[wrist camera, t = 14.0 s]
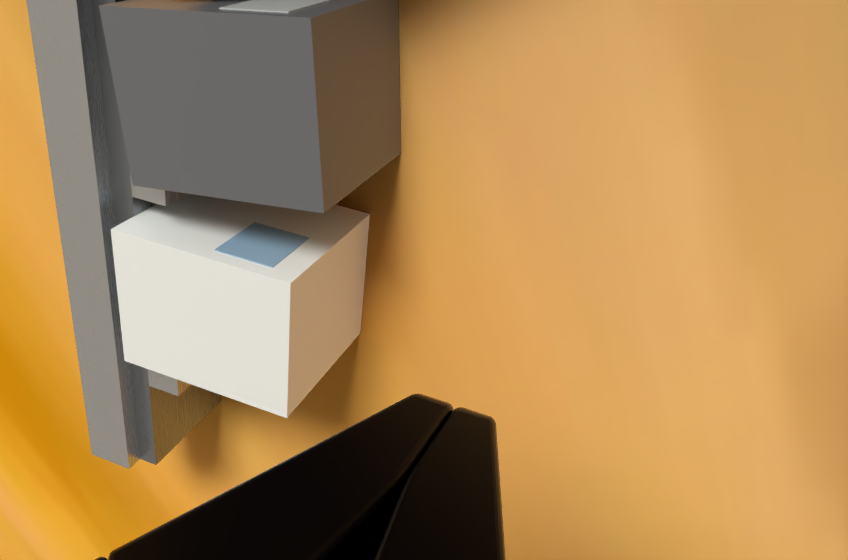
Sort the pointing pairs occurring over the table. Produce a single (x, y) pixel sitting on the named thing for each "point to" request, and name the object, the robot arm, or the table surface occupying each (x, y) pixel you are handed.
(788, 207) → the table surface
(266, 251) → the block
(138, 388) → the rail
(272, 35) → the block
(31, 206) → the table surface
